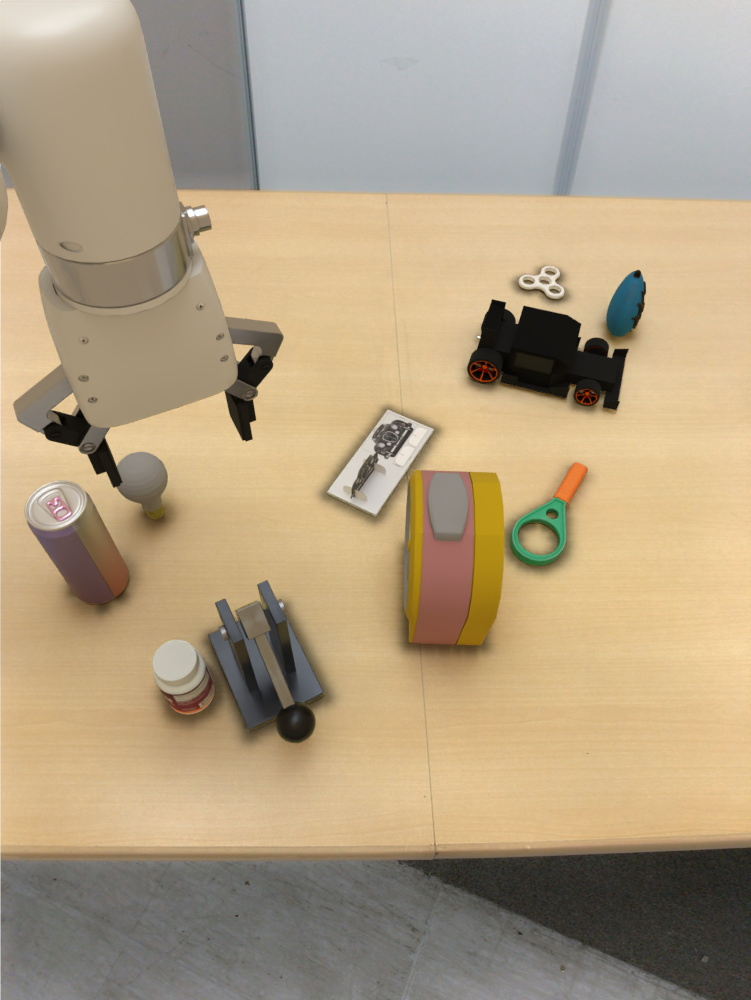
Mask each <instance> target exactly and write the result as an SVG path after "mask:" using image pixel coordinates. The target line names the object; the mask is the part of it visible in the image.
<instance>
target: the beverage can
mask: <svg viewBox="0 0 751 1000" xmlns="http://www.w3.org/2000/svg"><path fill="white" fill-rule="evenodd" d="M24 517H25V519H26V524H27V526H28V528H29V530H30V531H31V532H32V534H33V535H34V537H35V538H36V540H37V541H38V543H39V544H40V545H41V547H42V549H43V550H44V551H45V553H46V555H47V556H48V557H49V559H50V560H51V562H52V563H53V565H54V566H55V567H56V569H57V571H58V572H59V573H60V575H61V577H62V578H63V579H64V581H65V582H66V583H67V585H68V587H69V588H70V590H71V591H72V593H73V594H74V595H75V597H76V598H77V599H78V600H80V601H81V602H83V603H86V604H91V605H100V604H105V603H108V602H111V601H113V600H114V599H116V598H117V597H118V596H119V595H121V593H123V591H124V590H125V589H126V586H127V584H128V583H129V576H130V573H129V568H128V566H127V564H126V563H125V561H124V558H123V556H122V554H121V552H120V551H119V549H118V547H117V546H116V543H115V541H114V539H113V537H112V535H111V533H110V532H109V530H108V528H107V526H106V524H105V522H104V521H103V519H102V518H103V517H101V514H100V512H99V511H98V509H97V507H96V505H95V503H94V501H93V498H92V497H91V495H90V493H88V492H87V490H85V489H84V488H83V486H81V485H80V484H79V483H77V482H74V481H72V480H66V479H62V480H61V479H60V480H53V481H50V482H47V483H45V484H43V485H41V486H39V487H38V488H36V489H35V490H34V491H33V492H32V493H31V494H30V495H29V497H28V498H27V499H26V501H25V505H24Z"/></svg>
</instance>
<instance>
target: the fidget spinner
mask: <svg viewBox="0 0 751 1000" xmlns="http://www.w3.org/2000/svg"><path fill="white" fill-rule="evenodd" d="M546 272H552V273H554V274H553V275H552V274H551V275H550V274H548V273H546ZM560 276H561V272H560V269H558V268H557V267H556V266H552V265H545V266H544V267H542V268H541V269H540V273H539V274H537V275H531V274H524V275H521V276H520V277H519V279H518V285H519V287H520V288H522V289H524V290H541V291H543V292H544V294H545V295H546V296H547V297H548V298H550V299H552V300H559V299H561V298H562V297H564V295H565V288H564V287H563V286H561V284H559V283H557V282H556V280H558V279H559V278H560ZM524 281H531V282H532V283H531V284H529V283H526V282H524ZM541 281H545V282H548V283H542V282H541ZM550 290H556V291H558V293H553V292H552V291H550Z"/></svg>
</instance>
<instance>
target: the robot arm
mask: <svg viewBox="0 0 751 1000" xmlns="http://www.w3.org/2000/svg"><path fill="white" fill-rule="evenodd" d="M1 166H2V167H3V168H4V169H5V171H6V172H7V175H8V176H9V179H10V182H11V185H12V187H13V190H14V192H15V195H16V197H17V199H18V202H19V204H20V207H21V209H22V211H23V214H24V217H25V219H26V222H27V224H28V226H29V230H30V231H31V233H32V236H33V238H34V241H35V243H36V245H37V248H38V250H39V253H40V255H41V257H42V260H43V262H44V267H42V269H41V270H40V272H39V274H38V277H37V278H38V280H37V281H38V290H39V295H40V301H41V305H42V309H43V314H44V317H45V321H46V324H47V326H48V330H49V334H50V336H51V339H52V341H53V344H54V347H55V350H56V353H57V355H58V358H59V361H60V364H59V365H58V366H56V367H55V368H53V370H52V371H50V372H49V373H48V374H47V375H46V376H44V377H43V378H41V380H39V381H37V382H36V383H35V384H34V385H32V387H30V388H29V389H28V390H26V391H25V392H24V393H23V394H22V395H20V396H19V397H18V398H17V399H15V400H14V401H13V403H12V406H13V410H14V415H15V417H16V420H17V422H18V423H19V424H22V425H23V426H25V427H27V428H29V429H31V430H33V431H34V432H36V433H41V434H42V435H44V437H45V439H46V440H47V441H50V442H52V443H57V444H62V445H66V446H70V447H75V448H77V449H78V451H79V453H80V454H83V455H86V456H87V457H88V460H89V462H90V464H91V466H92V469H93V471H94V472H95V474H96V476H98V475H101V474H104V473H106V475H107V477H108V479H109V481H110V484H111V486H112V488H113V489H115V488H117V487H118V486H121V485H120V483H123V482H122V479H121V476H120V474H119V471H118V468H117V464H116V461H115V458H114V455H113V452H112V451H111V448H110V446H109V443H108V442H107V438H106V436H107V434H108V432H109V431H110V429H112V428H117V427H120V426H121V427H122V426H125V425H129V424H132V423H135V422H138V421H141V420H145V419H147V418H151V417H153V416H157V415H160V414H163V413H166V412H169V411H173V410H175V409H179V408H182V407H184V406H187V405H188V406H189V405H191V404H193V403H194V404H195V403H197V402H200V401H202V400H205V399H208V398H211V397H213V396H217V395H219V394H220V393H223V392H224V394H225V400H226V404H227V409H228V414H229V416H230V417H229V418H230V419H231V420H232V421H231V422H232V423H233V425H234V428H235V429H236V431H237V433H238V435H239V437H240V439H241V441H242V442H244V441H245V442H251V441H252V440H254V439H253V433H252V426H251V423H253V422H256V421H257V416H256V408H255V403H254V399H256V398H257V397H258V395H259V391H258V387H259V386H260V384H261V383H262V382H263V381H264V380H265V378H266V377H267V376H268V375H269V374H270V372H271V371H272V369H273V368H274V362H273V361H274V359H275V357H276V358H277V356H278V355H277V354H278V352H279V350H280V348H281V346H282V343H283V341H284V335H283V333H282V331H281V329H280V328H279V325H278V324H277V323H276V322H274V321H267V320H258V319H251V318H242V317H232V316H225V312H224V309H223V306H222V303H221V299H220V297H219V294H218V291H217V289H216V285H215V283H214V280H213V278H212V274H211V272H210V270H209V266H208V264H207V262H206V259H205V257H204V255H203V253H202V251H201V248H200V246H199V245H198V242H197V240H196V239H195V237H199V236H200V235H201V233H203V232H207V231H211V230H212V229H213V228H212V227H213V226H212V220H211V217H210V214H209V211H208V208H207V206H206V205H205V204H201V205H197V206H194V207H192V206H191V205H186V206H184V204H183V202H182V201H180V199H179V194H178V189H177V185H176V180H175V177H174V172H173V167H172V163H171V158H170V153H169V149H168V143H167V139H166V134H165V129H164V125H163V121H162V116H161V111H160V105H159V101H158V97H157V91H156V88H155V82H154V77H153V72H152V68H151V64H150V59H149V54H148V49H147V45H146V41H145V35H144V32H143V29H142V25H141V21H140V18H139V15H138V13H137V10H136V8H135V6H134V5H133V3H132V1H131V0H0V242H1V241H2V238H3V235H4V233H5V230H6V226H7V221H8V213H9V197H8V190H7V189H8V188H7V183H6V180H5V176H4V173H3V170H2V168H1ZM234 345H241V346H252V347H251V348H250V349H249V350H248V351H247V353H246V354H245V355H244V356H243V358H242V359H241V360H240V361H239V360H237V357H236V352H235V348H234ZM72 394H73V396H74V398H75V401H76V403H77V404H76V405H75V408H74V409H73V411H72V413H71V414H69V413H65V412H61V411H58V410H53V409H54V408H55V407H57V406H58V405H59V404H61V403H62V402H63V401H64V400H66V399H67V398H68V397H69V396H71V395H72Z"/></svg>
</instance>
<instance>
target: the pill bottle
mask: <svg viewBox="0 0 751 1000" xmlns="http://www.w3.org/2000/svg"><path fill="white" fill-rule="evenodd" d="M151 665H152V670H153V678H154V682H155V684H156V686H157V687H158V689H159V690H160V692H161V694H162V696H163V697H164V698H165V700H166V702H167V703H168V705H169V707H171V708H172V710H174V711H175V712H177V713H179V714H181V715H194V714H198V713H200V712H202V711H204V710H205V709H206V708H208V706H210V704H211V702H212V701H213V699H214V697H215V693H216V685H215V681H214V679H213V677H212V674H211V671H210V669H209V667H208V665H207V663H206V660H205V657H204V656H203V654H202V653H201V651H199V650H197V649H196V648H195V647H194V646H193V644H192V643H190V642H189V641H187V640H185V639H180V638H179V639H171V640H168V641H166V642H164V643H162V644H161V645H159V647H158V648H157V649H156V651H155V652H154V654H153V657H152V662H151Z"/></svg>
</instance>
